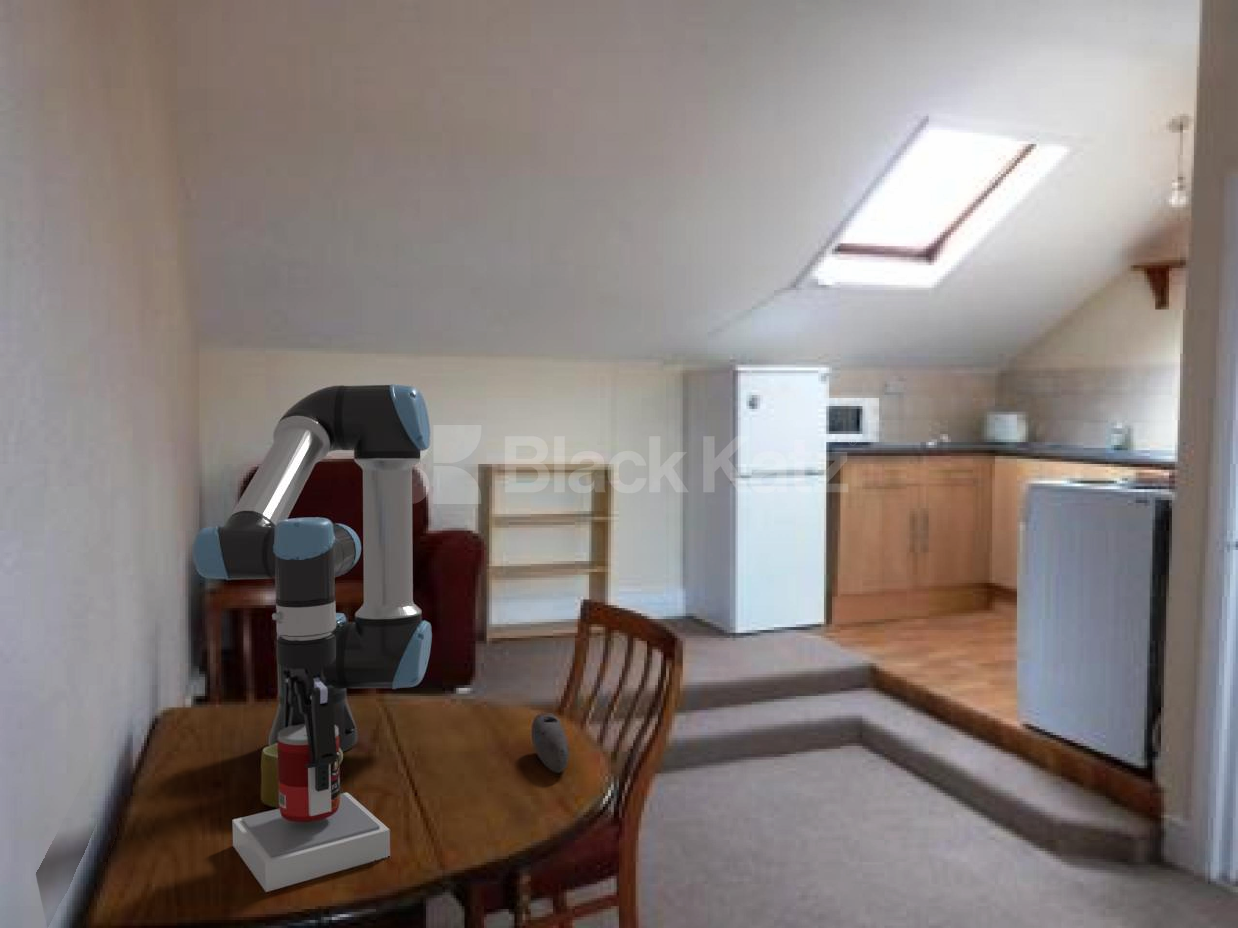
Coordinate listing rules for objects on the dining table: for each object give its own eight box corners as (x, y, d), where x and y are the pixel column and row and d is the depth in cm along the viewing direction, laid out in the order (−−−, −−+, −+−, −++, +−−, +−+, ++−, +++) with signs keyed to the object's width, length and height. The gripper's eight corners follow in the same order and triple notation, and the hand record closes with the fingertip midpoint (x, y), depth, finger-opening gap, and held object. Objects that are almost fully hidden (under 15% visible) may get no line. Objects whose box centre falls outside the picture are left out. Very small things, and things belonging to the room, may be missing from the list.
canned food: (322, 825, 121) (320, 741, 120) (266, 820, 122) (265, 737, 122) (351, 802, 128) (349, 723, 128) (298, 797, 130) (296, 719, 129)
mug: (256, 809, 134) (267, 737, 138) (249, 807, 143) (260, 740, 147) (342, 811, 139) (351, 742, 143) (331, 809, 148) (339, 744, 151)
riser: (233, 845, 127) (232, 816, 127) (347, 816, 137) (347, 789, 136) (265, 891, 114) (265, 859, 114) (390, 856, 124) (389, 826, 124)
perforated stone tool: (575, 778, 151) (574, 736, 151) (543, 781, 150) (542, 739, 149) (559, 748, 166) (559, 709, 165) (530, 750, 164) (529, 711, 164)
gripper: (255, 624, 131) (259, 784, 131) (302, 652, 114) (306, 836, 115) (309, 618, 135) (312, 773, 136) (361, 644, 118) (365, 820, 119)
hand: (309, 801), depth 125 cm, fingers closed on canned food, 8 cm apart
